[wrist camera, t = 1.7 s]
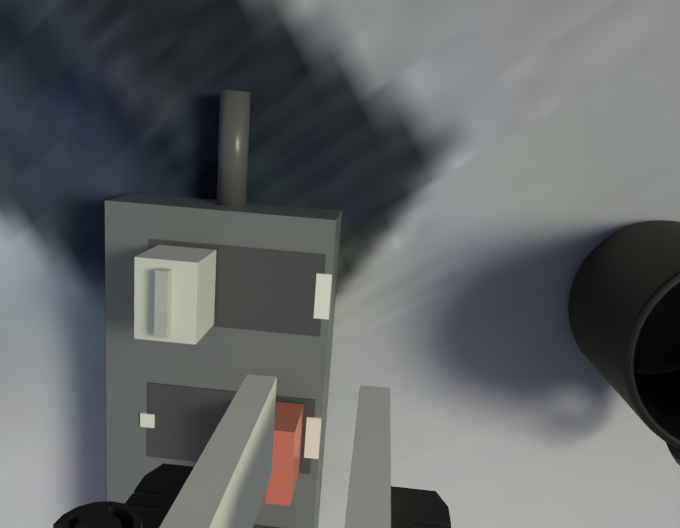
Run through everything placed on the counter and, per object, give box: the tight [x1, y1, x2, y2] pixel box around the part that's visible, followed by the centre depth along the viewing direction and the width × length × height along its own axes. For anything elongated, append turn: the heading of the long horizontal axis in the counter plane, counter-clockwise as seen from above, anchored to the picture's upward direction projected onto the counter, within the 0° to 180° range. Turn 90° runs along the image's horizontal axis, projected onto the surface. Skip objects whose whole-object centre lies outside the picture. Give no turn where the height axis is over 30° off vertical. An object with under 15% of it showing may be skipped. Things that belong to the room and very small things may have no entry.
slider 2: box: [261, 401, 304, 506], centre depth 32 cm, size 4×3×4 cm
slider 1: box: [134, 245, 216, 345], centre depth 31 cm, size 4×3×4 cm
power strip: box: [105, 90, 342, 528], centre depth 36 cm, size 30×12×4 cm, turn 176°
